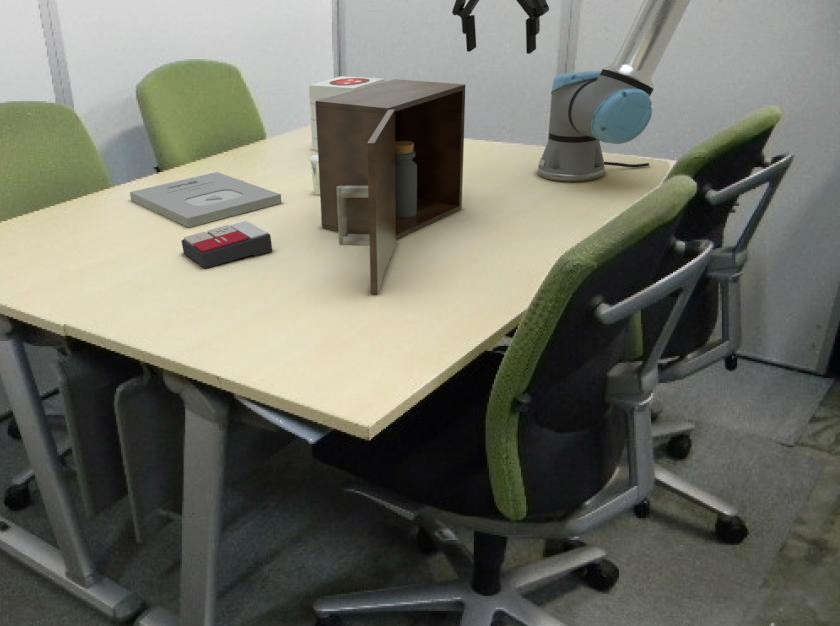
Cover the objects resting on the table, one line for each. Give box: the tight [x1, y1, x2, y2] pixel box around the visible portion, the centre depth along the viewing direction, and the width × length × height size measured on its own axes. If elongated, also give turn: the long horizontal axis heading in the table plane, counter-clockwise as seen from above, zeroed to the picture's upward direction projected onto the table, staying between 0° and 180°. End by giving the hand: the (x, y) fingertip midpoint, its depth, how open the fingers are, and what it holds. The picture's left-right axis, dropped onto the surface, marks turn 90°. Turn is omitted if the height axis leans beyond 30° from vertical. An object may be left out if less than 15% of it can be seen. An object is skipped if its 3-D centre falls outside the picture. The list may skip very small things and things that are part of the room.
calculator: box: [181, 220, 273, 269], centre depth 170 cm, size 11×4×15 cm
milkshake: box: [309, 154, 320, 196], centre depth 202 cm, size 5×5×10 cm
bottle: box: [395, 141, 417, 218], centre depth 179 cm, size 6×6×15 cm
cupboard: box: [315, 78, 466, 241], centre depth 177 cm, size 18×26×26 cm
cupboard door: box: [337, 110, 397, 295], centre depth 153 cm, size 7×26×26 cm, turn 168°
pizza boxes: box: [308, 75, 386, 152], centre depth 233 cm, size 19×30×18 cm, turn 31°
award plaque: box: [129, 171, 282, 228], centre depth 204 cm, size 25×30×2 cm
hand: (500, 50), depth 176 cm, fingers open, 13 cm apart
